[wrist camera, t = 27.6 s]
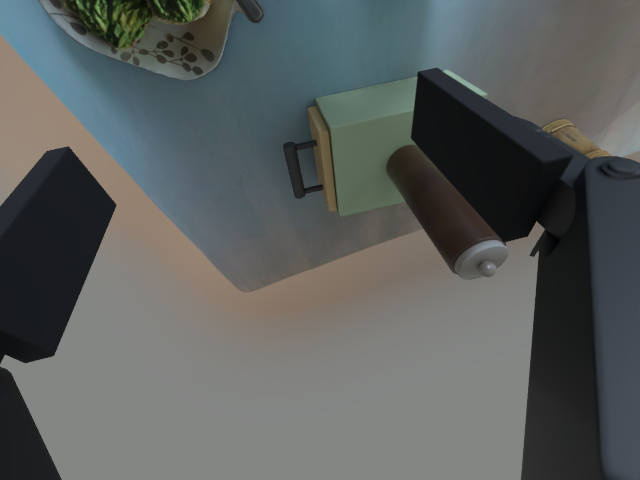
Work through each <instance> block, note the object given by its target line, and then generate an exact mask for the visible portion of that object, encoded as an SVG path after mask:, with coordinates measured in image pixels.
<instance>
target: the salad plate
mask: <svg viewBox="0 0 640 480" xmlns="http://www.w3.org/2000/svg"><path fill="white" fill-rule="evenodd" d="M38 1H39V3H40V4H41V5H42V7H43V8H44V9H45V11H46V12H47V13H48V14H49V16H50V17H51V18H52V19H53V20H54V21H55V22H56V23H57V24H58V25H59V26H60V27H61V28H62V29H63V30H64V31H65V32H66V33H67V34H68V35H69V36H70V37H72V38H73V39H74V40H75V41H77V42H78V43H80V44H82V45H84V46H86V47H88V48H89V49H91V50H93V51H95V52H98V53H100V54H103V55H106V56H108V57H111V58H114V59H117V60H120V61H123V62H126V63H129V64H132V65H135V66H138V67H141V68H144V69H147V70H150V71H152V72H154V73H156V74H161V75H164V76H168V77H172V78H175V79H178V80H192V79H196V78H201V77H202V76H204V75H205V74H208V73H209V72H211V71H213V70H215V69H216V68H217V67H218V66H219V64H220V61H221V59H222V56H223V51H224V48H225V46H226V42H227V39H228V35H229V30H230V24H231V21H232V20H233V17H234V15H235V13H236V12H241V13H242V14H244V15H245V16H246V17H247V19H248V20H249V21H251V22H253V23H259V22H261V20H262V19H263V17H264V11H263V8H262V6H261V5H260V4H259V2H258V1H257V0H38Z"/></svg>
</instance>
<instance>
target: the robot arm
mask: <svg viewBox="0 0 640 480" xmlns="http://www.w3.org/2000/svg"><path fill="white" fill-rule="evenodd" d="M411 139H412V140H413V142H414V143H415V144H416V145H417V146H418V147H419V148H420V149H421V150H422V152H423V153H424V154H425V155H426V156H427V157H428V158H429V159H430V161H431V162H432V163H433V164H434V165H435V166H436V167H437V168H438V169H439V171H440V172H441V173H442V174H443V175H444V176H445V177H446V178H447V180H448V181H449V182H450V183H451V184H452V185H453V186H454V187H455V188H456V190H457V191H458V192H459V193H460V194H461V195H462V196H463V197H464V199H465V200H466V201H467V202H468V203H469V204H470V205H471V206H472V207H473V209H474V210H475V211H476V212H477V213H478V214H479V215H480V216H481V218H482V219H483V220H484V221H485V222H486V223H487V224H488V225H489V226H490V228H491V229H492V230H493V231H494V232H495V233H496V234H497V235H498V237H499V238H500V239H501V240H502V241H503V242H507V241H511V240H515V239H519V238H523V237H527V236H528V235H529V233H530V231H531V230H532V228H533V226H534V225H535V223H536V221H537V222H538V223H539V224H540V225H541V226H543V227H544V228H545V230H544V232H543V234H542V235H541V237H540V238H539V240H538V242H537V243H536V245H535V247H534V248H533V250H532V252H531V254H530V256H533V257H534V256H535V254H536V253H537V252H538V251H539V260H538V272H537V284H536V297H535V310H534V322H533V335H532V348H531V361H530V374H529V386H528V399H527V411H526V424H525V436H524V449H523V462H522V475H521V480H640V163H639V162H636V161H633V160H631V159H626V158H622V157H617V156H601V157H594V158H592V159H590V158H589V157H587V156H585V155H584V154H582V153H580V152H579V151H577V150H576V149H574V148H572V147H571V146H569V145H568V144H566V143H564V142H563V141H561V140H559V139H558V138H556V137H555V138H553V135H551V134H550V133H548V132H546V131H543V129H542V128H540V127H538V126H537V125H535V124H534V123H532V122H530V121H527V120H524V119H521V118H518V117H515V116H512V115H510V114H509V113H507V112H506V111H504V110H502V109H501V108H499V107H498V106H496V105H495V104H493V103H491V102H490V101H488V100H487V99H485V98H484V97H482V96H480V95H479V94H477V93H476V92H474V91H473V90H471V89H470V88H468V87H466V86H465V85H463V84H462V83H460V82H459V81H457V80H455V79H454V78H452V77H451V76H449V75H448V74H446V73H444V72H443V71H441V70H440V69H438V68H433V69H429V70H424V71H419V72H418V76H417V85H416V94H415V103H414V112H413V121H412V130H411ZM115 207H116V204H115V202H114V201H113V200H112V199H111V198H110V196H109V195H108V194H107V193H106V191H105V190H104V189H103V188H102V187H101V185H100V184H99V183H98V182H97V180H96V179H95V178H94V177H93V176H92V174H90V172H89V171H88V170H87V168H86V167H85V166H84V165H83V163H82V162H81V161H80V160H79V158H78V157H77V156H76V155H75V154H74V152H73V151H72V150H71V149H70V148H69V147H64V148H59V149H54V150H50V151H47V152H46V153H45V154H44V155H43V156H42V158H41V159H40V160H39V161H38V162H37V163H36V165H35V166H34V167H33V168H32V169H31V170H30V172H29V173H28V174H27V175H26V177H25V178H24V179H23V180H22V181H21V182H20V184H19V185H18V186H17V187H16V188H15V190H14V191H13V192H12V193H11V194H10V196H9V197H8V198H7V199H6V200H5V201H4V203H3V204H2V205H1V206H0V363H1V361H2V359H3V357H4V355H8V356H10V357H12V358H14V359H17V360H19V361H21V362H24V363H28V362H32V361H35V360H40V359H44V358H48V357H52V356H54V355H55V352H56V350H57V347H58V345H59V342H60V340H61V337H62V335H63V333H64V330H65V328H66V326H67V323H68V321H69V318H70V316H71V314H72V311H73V309H74V306H75V304H76V302H77V299H78V296H79V294H80V292H81V290H82V287H83V285H84V282H85V280H86V277H87V275H88V273H89V270H90V268H91V265H92V263H93V261H94V258H95V256H96V253H97V251H98V249H99V246H100V244H101V241H102V239H103V236H104V234H105V232H106V229H107V227H108V224H109V222H110V220H111V217H112V215H113V212H114V210H115ZM0 480H61V477H60V475H59V473H58V471H57V469H56V467H55V465H54V463H53V461H52V458H51V456H50V454H49V452H48V450H47V448H46V446H45V444H44V442H43V439H42V437H41V435H40V433H39V431H38V429H37V427H36V425H35V423H34V420H33V418H32V416H31V414H30V412H29V410H28V408H27V406H26V404H25V401H24V399H23V397H22V395H21V393H20V391H19V389H18V387H17V385H16V382H15V380H14V378H13V376H12V374H11V373H10V372H9V371H8V370H7V369H5V368H2V367H0Z"/></svg>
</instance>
